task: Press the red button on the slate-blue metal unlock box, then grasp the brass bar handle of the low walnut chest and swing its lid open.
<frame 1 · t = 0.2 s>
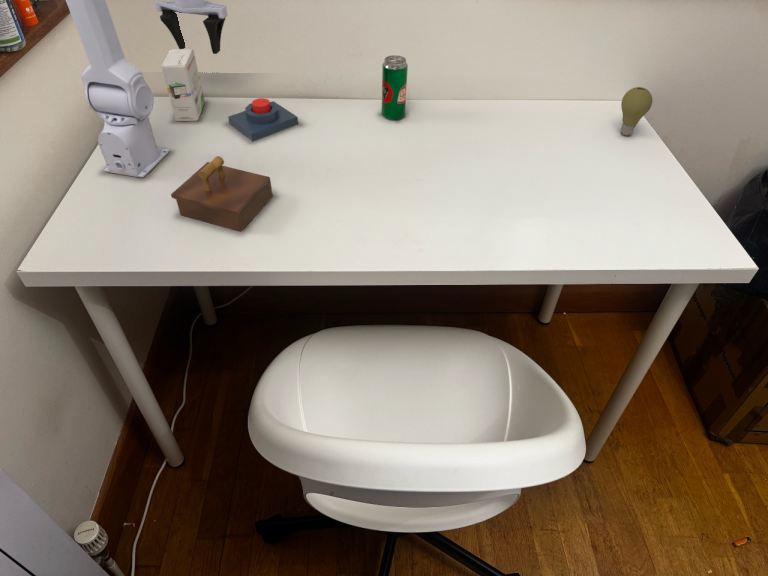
hand: (199, 50, 118), 10 cm above the table, tool pointing down, fingers open, 7 cm apart
light bulb: (625, 135, 116), on the table
chest: (227, 205, 96), on the table
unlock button: (261, 106, 114), point 4 cm above the table, slide at 0.1 cm
chest lid: (219, 177, 93), point 6 cm above the table, hinge at 0.0°
unlock box: (263, 124, 117), on the table
ink box: (190, 112, 120), on the table
soda can: (393, 116, 121), on the table
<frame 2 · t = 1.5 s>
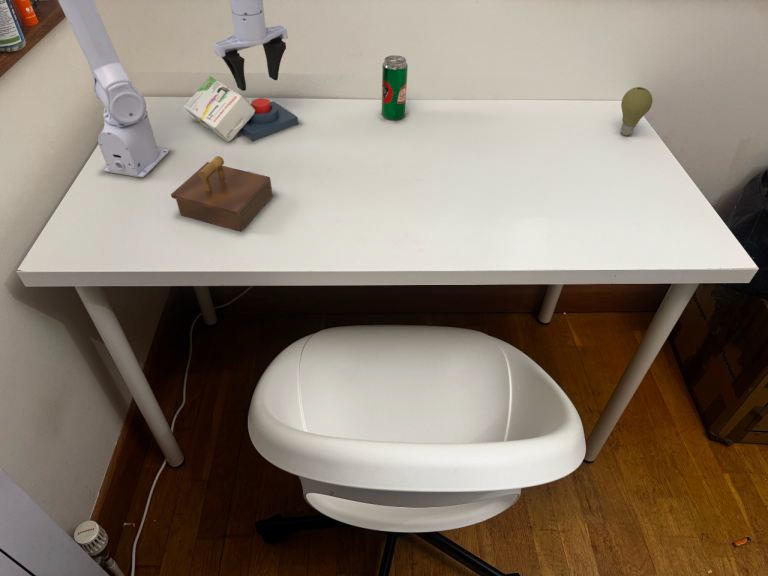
hand: (258, 83, 111), 9 cm above the table, tool pointing down, fingers open, 7 cm apart
ink box: (203, 98, 116), point 4 cm above the table, touching unlock box
everything else where it was.
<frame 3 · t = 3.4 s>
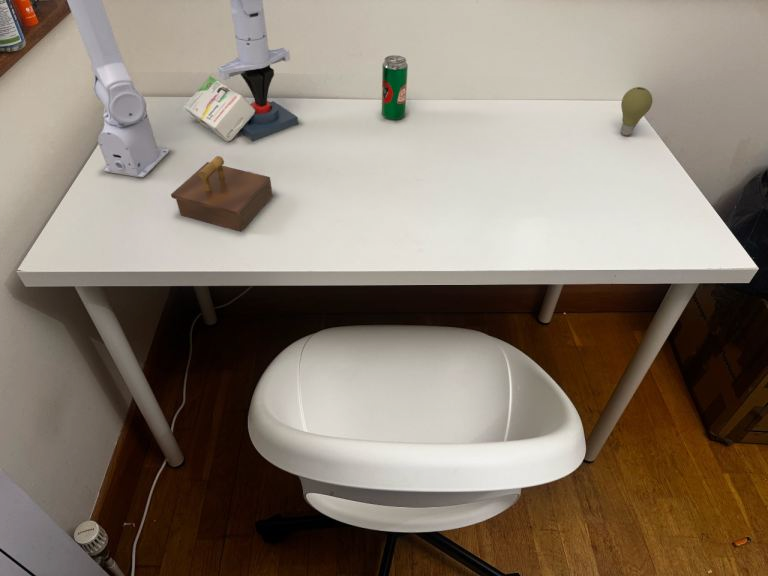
hand: (261, 104, 114), 4 cm above the table, tool pointing down, fingers closed, pressing on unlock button
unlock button: (261, 108, 114), point 4 cm above the table, slide at -0.3 cm, touching gripper
everything else where it was.
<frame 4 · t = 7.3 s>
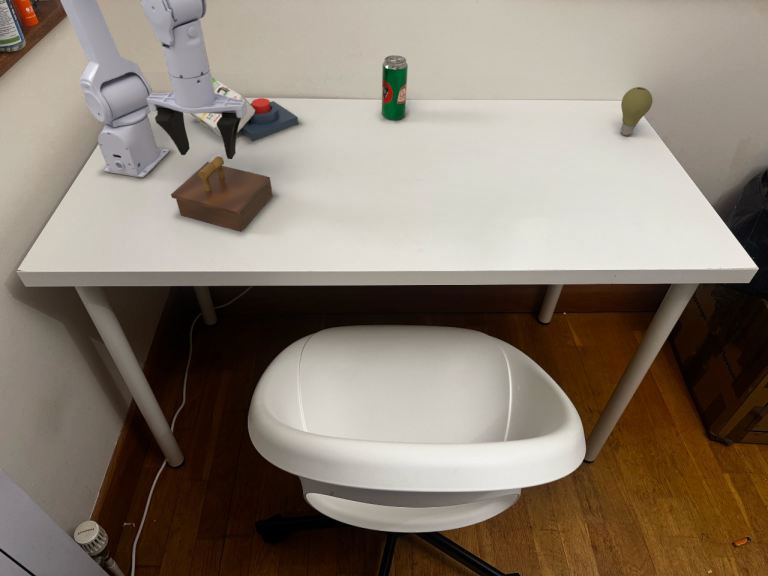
hand: (208, 153, 90), 10 cm above the table, tool pointing down, fingers open, 7 cm apart
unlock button: (261, 106, 114), point 4 cm above the table, slide at 0.1 cm
everything else where it was.
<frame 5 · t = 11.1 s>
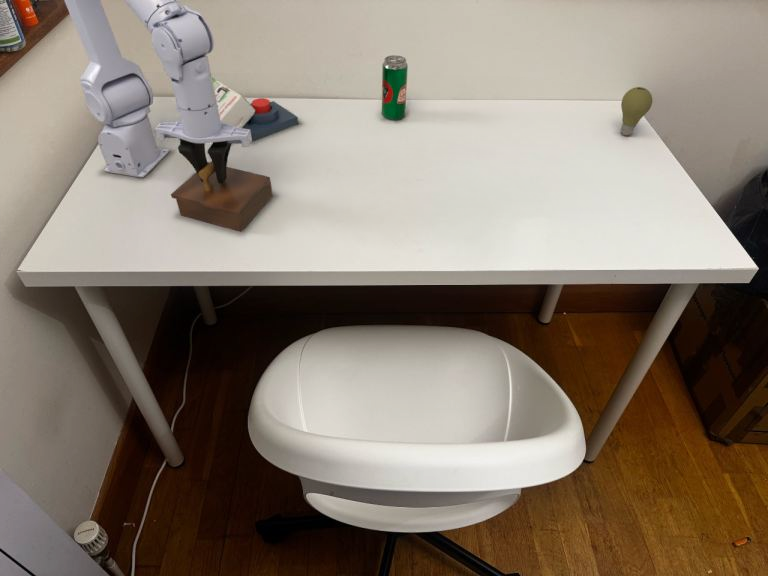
hand: (214, 179, 93), 5 cm above the table, tool pointing down, fingers closed on chest lid, 2 cm apart
chest lid: (219, 177, 93), point 6 cm above the table, hinge at 0.0°, touching gripper
everything else where it was.
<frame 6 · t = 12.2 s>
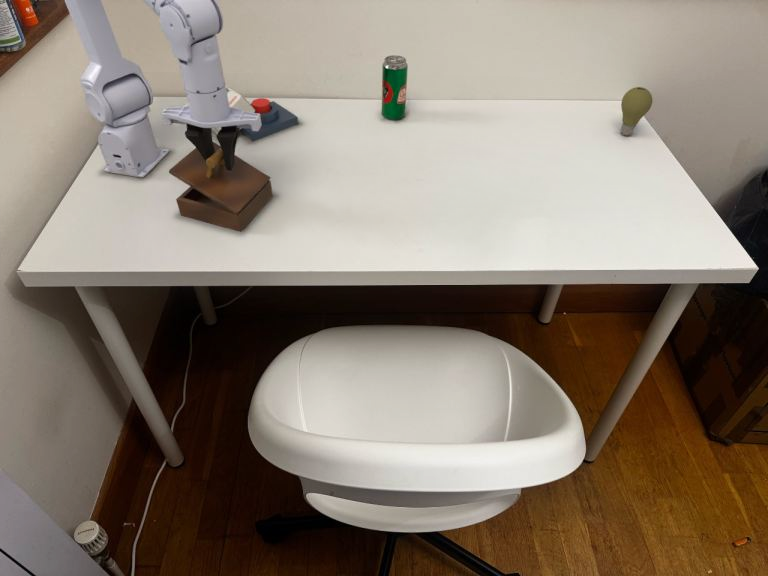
hand: (222, 166, 91), 8 cm above the table, tool pointing down, fingers closed on chest lid, 2 cm apart
chest lid: (223, 166, 91), point 8 cm above the table, hinge at 23.6°, touching gripper
everything else where it was.
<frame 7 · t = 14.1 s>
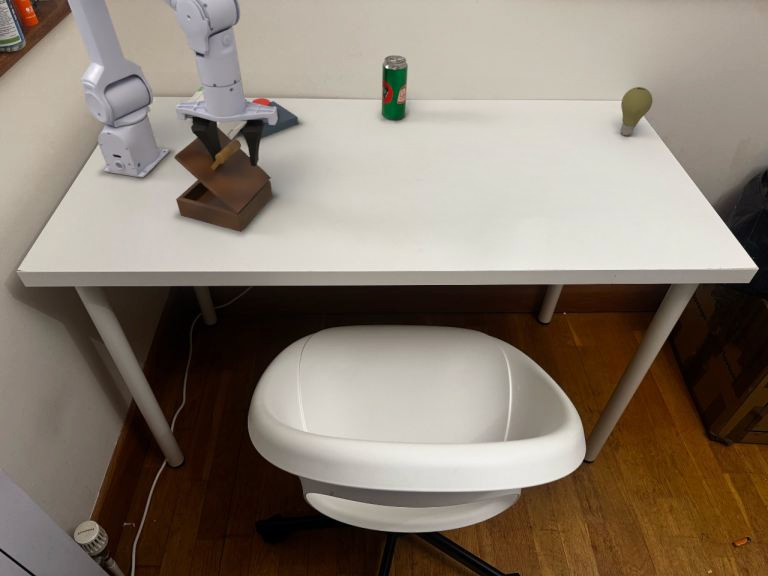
hand: (236, 161, 89), 9 cm above the table, tool pointing down, fingers open, 5 cm apart
chest lid: (230, 161, 89), point 9 cm above the table, hinge at 40.3°, touching gripper
everything else where it was.
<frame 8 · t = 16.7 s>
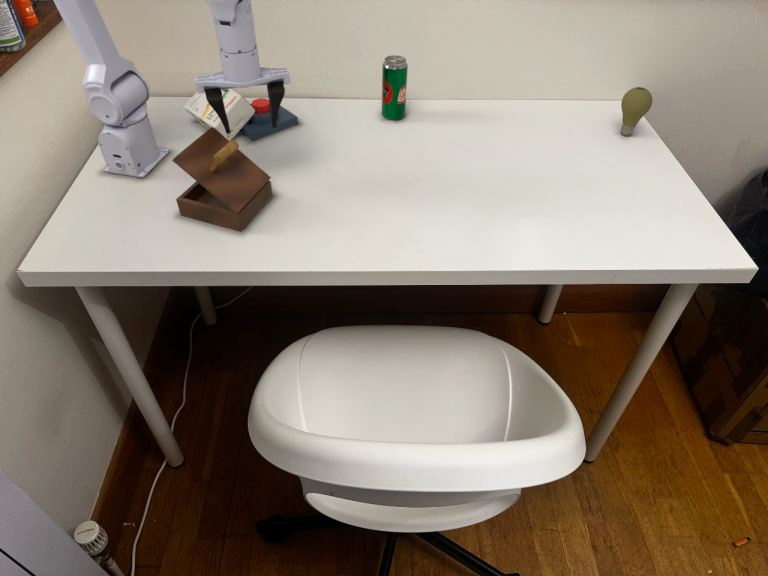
hand: (251, 127, 95), 10 cm above the table, tool pointing down, fingers open, 7 cm apart
chest lid: (228, 162, 90), point 9 cm above the table, hinge at 36.8°
everything else where it was.
at the end: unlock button pushed in 1.2 cm at the most during the clip, back to where it started at the end; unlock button slide at 0.1 cm; chest lid at +37° (first picture: +0°) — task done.
